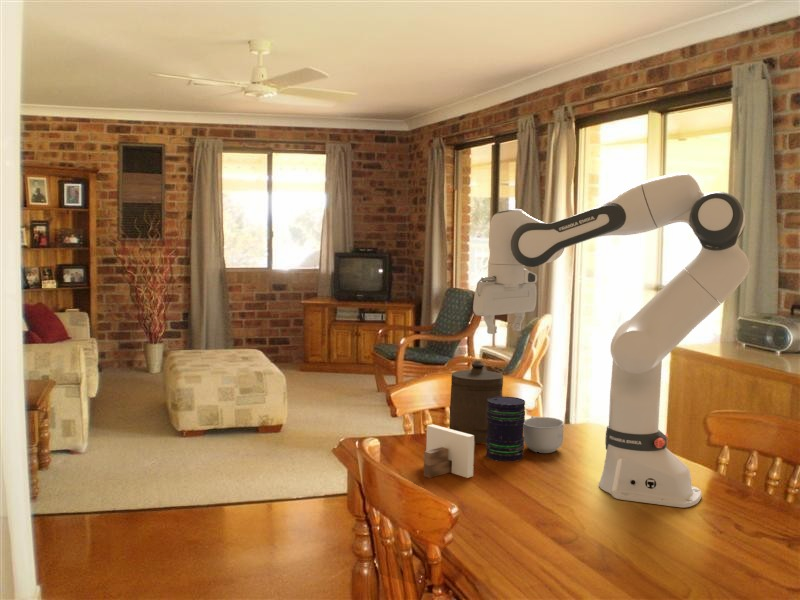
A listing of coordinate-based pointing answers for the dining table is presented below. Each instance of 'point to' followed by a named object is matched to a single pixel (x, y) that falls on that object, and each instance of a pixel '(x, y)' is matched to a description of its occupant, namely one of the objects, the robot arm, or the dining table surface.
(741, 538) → the dining table surface
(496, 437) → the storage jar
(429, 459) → the grey notched block
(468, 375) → the wooden container
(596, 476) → the dining table surface
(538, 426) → the teacup
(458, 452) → the white arch block
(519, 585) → the dining table surface
